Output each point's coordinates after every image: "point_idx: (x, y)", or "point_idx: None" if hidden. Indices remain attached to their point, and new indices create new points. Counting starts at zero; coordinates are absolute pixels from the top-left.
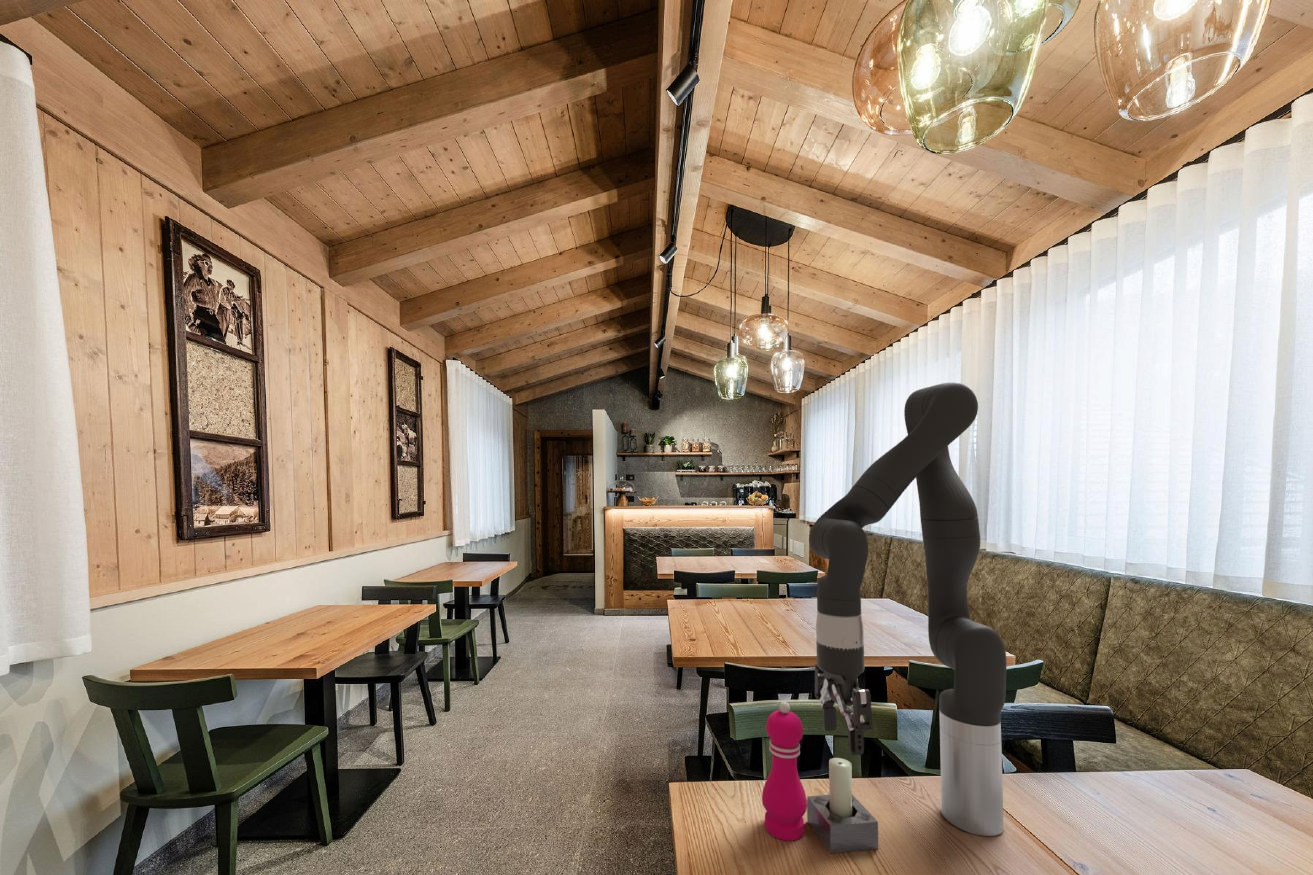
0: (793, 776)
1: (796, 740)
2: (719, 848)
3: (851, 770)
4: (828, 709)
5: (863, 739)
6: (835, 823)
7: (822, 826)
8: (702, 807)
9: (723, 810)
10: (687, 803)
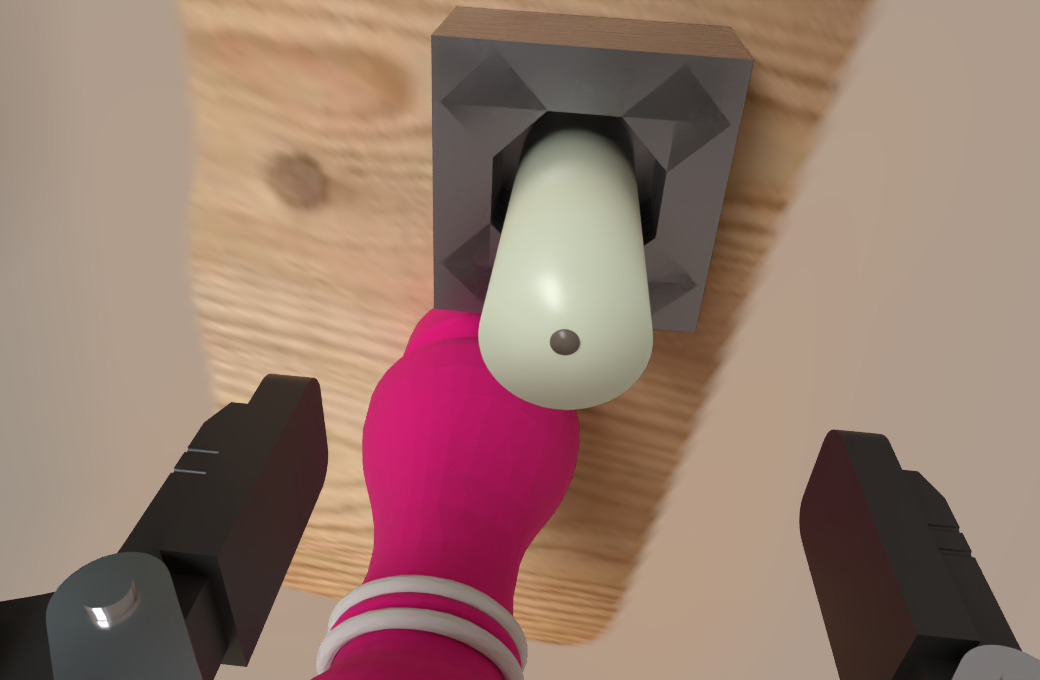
0: (522, 538)
1: None
2: (548, 576)
3: (625, 268)
4: (243, 617)
5: (984, 581)
6: (684, 299)
7: None
8: (324, 550)
9: (346, 502)
10: (298, 579)
